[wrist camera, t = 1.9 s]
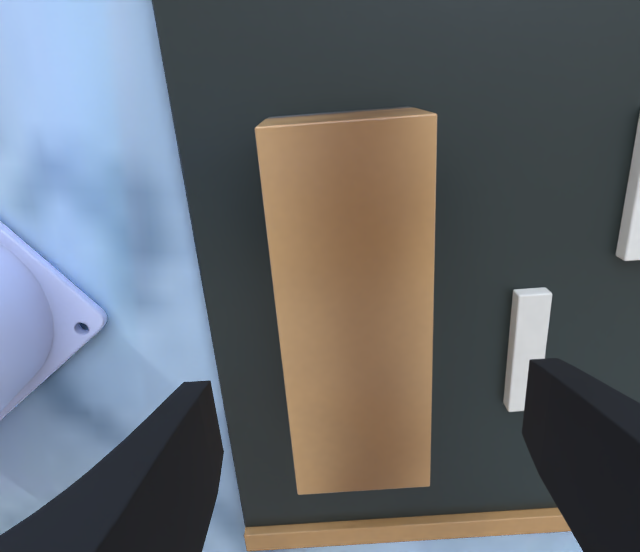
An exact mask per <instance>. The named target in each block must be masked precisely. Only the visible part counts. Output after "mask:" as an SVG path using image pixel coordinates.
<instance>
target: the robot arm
mask: <svg viewBox="0 0 640 552" xmlns="http://www.w3.org/2000/svg"><path fill="white" fill-rule="evenodd" d="M107 318H108V317H107V314H106V312H105V311H104V310H103V309H102V308H101V307H100V306H99V305H98V304H96V303H95V302H94V301H93V300H92V299H91V298H89V297H88V296H87V295H86V294H85V293H84V292H82V291H81V290H80V289H79V288H78V287H77V286H75V285H74V284H73V283H72V282H71V281H70V280H68V279H67V278H66V277H65V276H64V275H63V274H61V273H60V272H59V271H58V270H57V269H56V268H55V267H53V266H52V265H51V264H50V263H49V262H48V261H46V260H45V259H44V258H43V257H42V256H41V255H39V254H38V253H37V252H36V251H35V250H34V249H32V248H31V247H30V246H29V245H28V244H27V243H25V242H24V241H23V240H22V239H21V238H20V237H18V236H17V235H16V234H15V233H14V232H13V231H11V230H10V229H9V228H8V227H7V226H6V225H4V224H3V223H2V222H1V221H0V420H2V419H3V418H4V417H5V416H6V415H7V414H8V413H9V412H10V411H12V410H13V409H14V408H15V407H16V406H17V405H18V404H19V403H20V402H21V401H23V400H24V399H25V398H26V397H27V396H28V395H29V394H30V393H31V392H33V391H34V390H35V389H36V388H37V387H38V386H39V385H40V384H41V383H43V382H44V381H45V380H46V379H47V378H48V377H49V376H50V375H51V374H52V373H54V372H55V371H56V370H57V369H58V368H59V367H60V366H61V365H62V364H64V363H65V362H66V361H67V360H68V359H69V358H70V357H71V356H72V355H74V354H75V353H76V352H77V351H78V350H79V349H80V348H81V347H82V346H83V345H85V344H86V343H87V342H88V341H89V340H90V339H91V338H92V337H93V336H95V335H96V334H97V333H98V332H99V331H100V330H101V329H102V328H103V327H104V326H105V324H106V323H107ZM79 323H84V324H86V325H87V327H88V328H89V330H84V329H82V328H81V327H80V325H79ZM522 435H523V438H524V440H525V443H526V445H527V448H528V450H529V453H530V455H531V458H532V460H533V462H534V464H535V467H536V469H537V471H538V474H539V476H540V477H541V479H542V481H543V483H544V485H545V486H546V488H547V490H548V492H549V493H550V495H551V497H552V499H553V500H554V502H555V504H556V506H557V507H558V509H559V511H560V512H561V514H562V516H563V518H564V519H565V521H566V523H567V524H568V526H569V528H570V529H571V531H572V533H573V535H574V536H575V538H576V540H577V541H578V543H579V545H580V547H581V548H582V550H583V552H640V403H639V402H637V401H635V400H633V399H632V398H630V397H628V396H626V395H625V394H623V393H621V392H619V391H617V390H616V389H614V388H612V387H610V386H609V385H607V384H605V383H603V382H602V381H600V380H598V379H596V378H594V377H593V376H591V375H589V374H587V373H586V372H584V371H582V370H580V369H578V368H577V367H575V366H573V365H571V364H569V363H567V362H565V361H563V360H561V359H559V358H545V359H530V360H529V369H528V379H527V388H526V397H525V406H524V416H523V425H522ZM223 453H224V451H223V446H222V440H221V435H220V430H219V424H218V419H217V414H216V408H215V403H214V397H213V392H212V387H211V381H196V382H184V383H183V384H181V385H180V386H179V387H178V388H177V389H176V390H175V391H174V392H173V393H172V394H171V395H170V396H169V397H168V398H167V399H166V400H165V401H164V402H163V403H162V404H161V405H160V406H159V407H158V408H157V409H156V410H155V411H154V412H153V413H152V414H151V415H150V416H149V417H148V418H147V419H146V420H145V421H143V422H142V423H141V424H140V425H139V426H138V427H137V428H136V429H135V430H134V431H133V432H132V433H131V434H130V435H129V436H128V437H127V438H126V439H125V440H124V441H122V442H121V443H120V444H119V445H118V446H117V447H116V448H114V449H113V450H112V451H111V452H110V453H109V454H108V455H106V456H105V457H104V458H103V459H102V460H101V461H100V462H98V463H97V464H96V465H95V466H94V467H93V468H92V469H91V470H89V471H88V472H87V473H86V474H85V475H83V476H82V477H81V478H80V479H78V480H77V481H76V482H75V483H73V484H72V485H71V486H70V487H68V488H67V489H66V490H65V491H63V492H62V493H60V494H59V495H58V496H56V497H55V498H54V499H52V500H51V501H50V502H48V503H47V504H46V505H44V506H43V507H42V508H40V509H39V510H38V511H36V512H35V513H33V514H32V515H30V516H29V517H28V518H26V519H25V520H23V521H21V522H20V523H18V524H17V525H15V526H14V527H12V528H11V529H9V530H8V531H6V532H5V533H3V534H2V535H0V552H202V549H203V546H204V542H205V538H206V535H207V531H208V528H209V524H210V520H211V517H212V513H213V509H214V506H215V502H216V498H217V494H218V488H219V481H220V475H221V468H222V460H223Z"/></svg>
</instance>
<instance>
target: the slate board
mask: <svg viewBox="0 0 640 552" xmlns="http://www.w3.org/2000/svg"><path fill="white" fill-rule="evenodd" d="M152 4H153V10H154V15H155V21H156V27H157V32H158V38H159V44H160V49H161V55H162V61H163V66H164V72H165V77H166V83H167V89H168V94H169V100H170V106H171V111H172V117H173V123H174V128H175V134H176V139H177V145H178V151H179V156H180V162H181V168H182V173H183V179H184V185H185V190H186V196H187V201H188V207H189V213H190V218H191V224H192V230H193V235H194V241H195V247H196V252H197V258H198V263H199V269H200V275H201V280H202V286H203V292H204V297H205V303H206V309H207V314H208V320H209V325H210V331H211V337H212V342H213V348H214V354H215V359H216V365H217V371H218V376H219V382H220V387H221V393H222V399H223V404H224V410H225V416H226V421H227V427H228V433H229V438H230V444H231V449H232V455H233V461H234V466H235V472H236V478H237V483H238V489H239V495H240V500H241V506H242V511H243V517H244V523H245V533H244V538H245V543H246V549H247V551H260V550H276V549H292V548H308V547H324V546H340V545H356V544H372V543H388V542H404V541H420V540H436V539H452V538H468V537H485V536H501V535H517V534H533V533H549V532H565V531H571V529H570V528H569V526H568V524H567V523H566V521H565V519H564V518H563V516H562V514H561V512H560V511H559V509H558V507H557V506H556V504H555V502H554V500H553V499H552V497H551V495H550V493H549V492H548V490H547V488H546V486H545V485H544V483H543V481H542V479H541V477H540V476H539V474H538V471H537V469H536V467H535V464H534V462H533V460H532V458H531V455H530V453H529V450H528V448H527V445H526V443H525V440H524V438H523V435H522V425H523V416H524V411H515V412H508V410H507V409H506V407H505V405H504V403H503V400H504V388H505V377H506V365H507V354H508V342H509V331H510V319H511V308H512V297H513V290H514V289H527V288H541V287H545V288H547V289H548V290H549V291H550V292H551V293H552V302H551V310H550V319H549V327H548V335H547V343H546V352H545V358H559V359H561V360H563V361H565V362H567V363H569V364H571V365H573V366H575V367H577V368H578V369H580V370H582V371H584V372H586V373H587V374H589V375H591V376H593V377H594V378H596V379H598V380H600V381H602V382H603V383H605V384H607V385H609V386H610V387H612V388H614V389H616V390H617V391H619V392H621V393H623V394H625V395H626V396H628V397H630V398H632V399H633V400H635V401H637V402H639V403H640V260H635V261H624V260H622V259H620V258H619V257H617V256H616V249H617V243H618V237H619V232H620V226H621V220H622V214H623V208H624V202H625V196H626V190H627V184H628V178H629V173H630V167H631V161H632V155H633V149H634V143H635V137H636V131H637V125H638V119H639V114H640V0H152ZM406 106H409V107H413V108H418V109H422V110H425V111H429V112H433V113H436V114H437V158H436V209H435V260H434V311H433V362H432V413H431V464H430V486H428V487H413V488H397V489H381V490H366V491H350V492H335V493H319V494H303V495H298V493H297V486H296V477H295V469H294V460H293V452H292V443H291V435H290V426H289V418H288V409H287V401H286V392H285V384H284V375H283V367H282V358H281V350H280V341H279V333H278V324H277V316H276V307H275V299H274V290H273V282H272V273H271V265H270V256H269V248H268V239H267V230H266V222H265V213H264V205H263V196H262V188H261V179H260V171H259V162H258V154H257V145H256V137H255V127H256V126H257V125H259V124H260V123H261V122H262V121H264V120H265V119H267V118H268V117H274V116H288V115H301V114H314V113H327V112H340V111H354V110H367V109H380V108H393V107H406Z"/></svg>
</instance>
